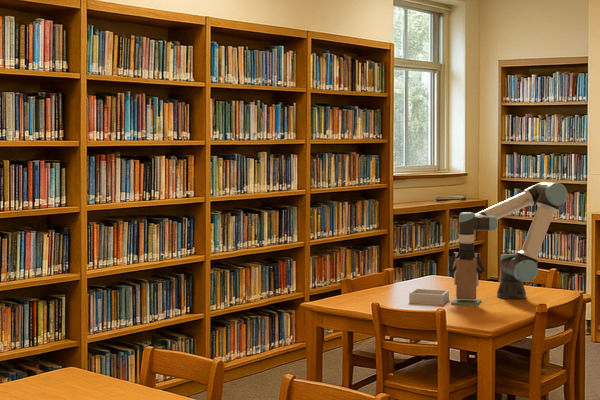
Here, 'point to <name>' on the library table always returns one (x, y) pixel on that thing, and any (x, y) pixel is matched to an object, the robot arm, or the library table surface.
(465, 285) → the block
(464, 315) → the library table surface
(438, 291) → the bin
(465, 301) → the mat
